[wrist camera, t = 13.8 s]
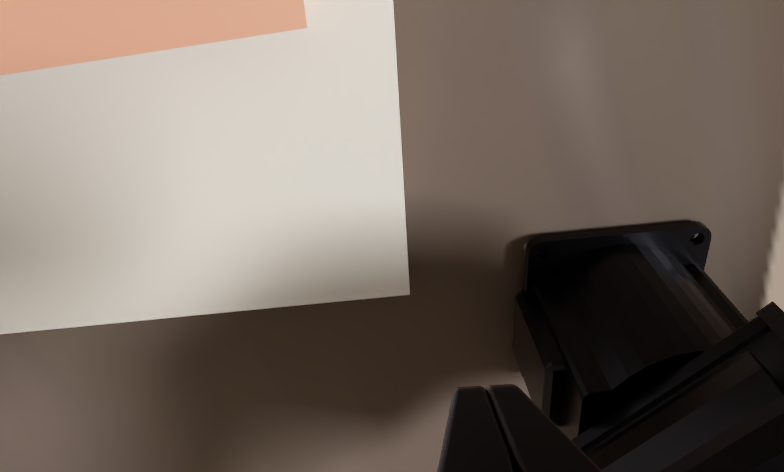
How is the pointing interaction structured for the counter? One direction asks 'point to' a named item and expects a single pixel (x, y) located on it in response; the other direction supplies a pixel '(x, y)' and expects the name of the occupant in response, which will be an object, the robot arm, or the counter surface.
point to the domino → (129, 27)
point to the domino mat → (206, 177)
